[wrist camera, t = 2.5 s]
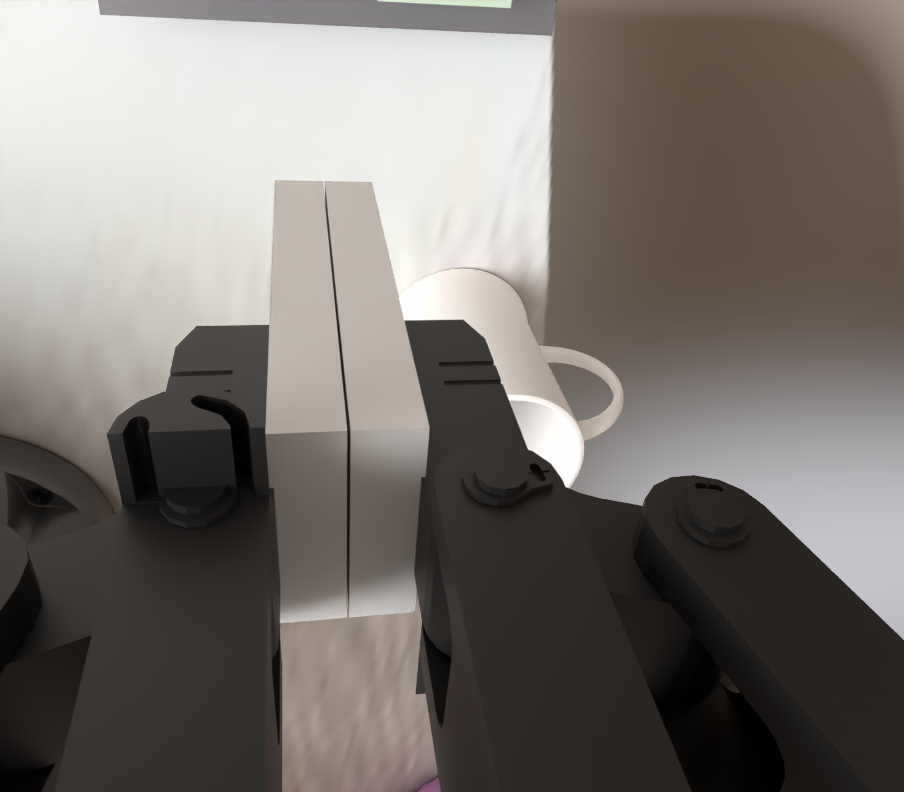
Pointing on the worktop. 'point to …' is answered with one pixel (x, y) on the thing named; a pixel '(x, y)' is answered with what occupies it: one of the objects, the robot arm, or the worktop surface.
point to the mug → (518, 361)
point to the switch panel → (352, 13)
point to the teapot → (431, 786)
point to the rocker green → (460, 2)
